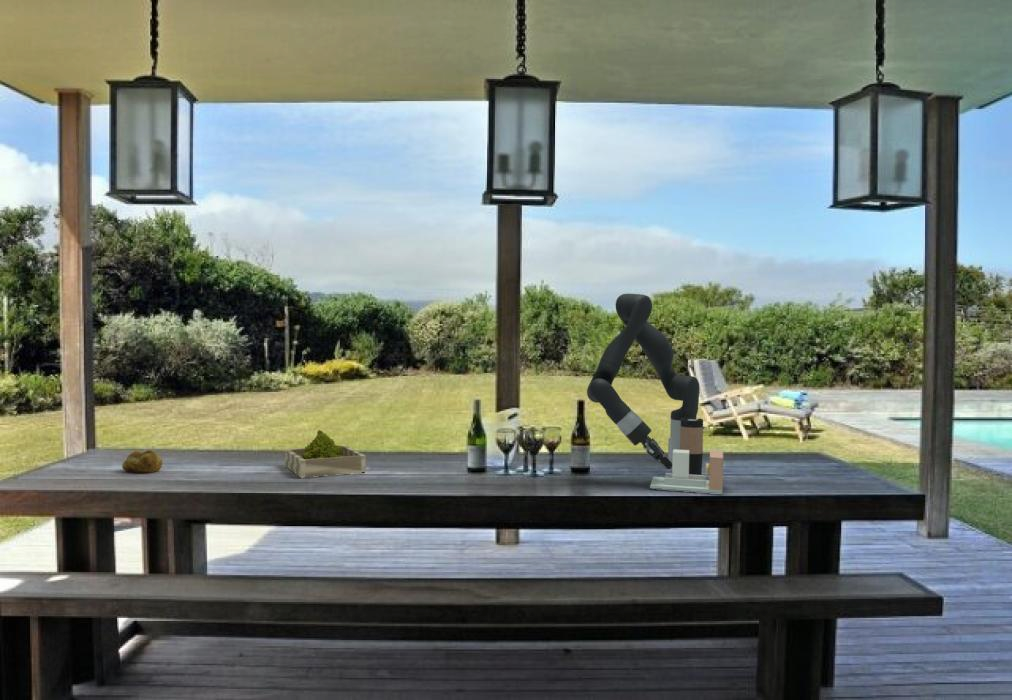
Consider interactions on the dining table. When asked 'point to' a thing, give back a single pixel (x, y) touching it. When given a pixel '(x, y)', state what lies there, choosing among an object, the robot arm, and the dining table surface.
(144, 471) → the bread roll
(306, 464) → the veg crate
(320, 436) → the vegetable
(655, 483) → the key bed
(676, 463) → the white rectangular block
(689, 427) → the travel mug
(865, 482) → the dining table surface
